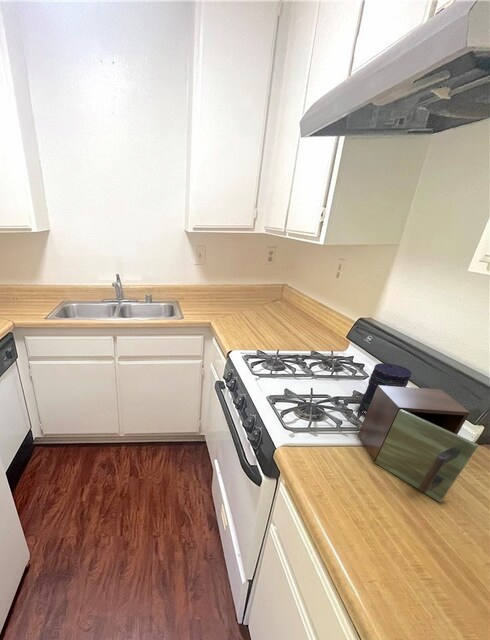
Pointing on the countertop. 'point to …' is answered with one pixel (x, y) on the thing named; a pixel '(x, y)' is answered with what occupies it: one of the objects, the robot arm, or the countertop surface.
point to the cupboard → (415, 401)
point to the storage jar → (383, 381)
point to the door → (424, 454)
